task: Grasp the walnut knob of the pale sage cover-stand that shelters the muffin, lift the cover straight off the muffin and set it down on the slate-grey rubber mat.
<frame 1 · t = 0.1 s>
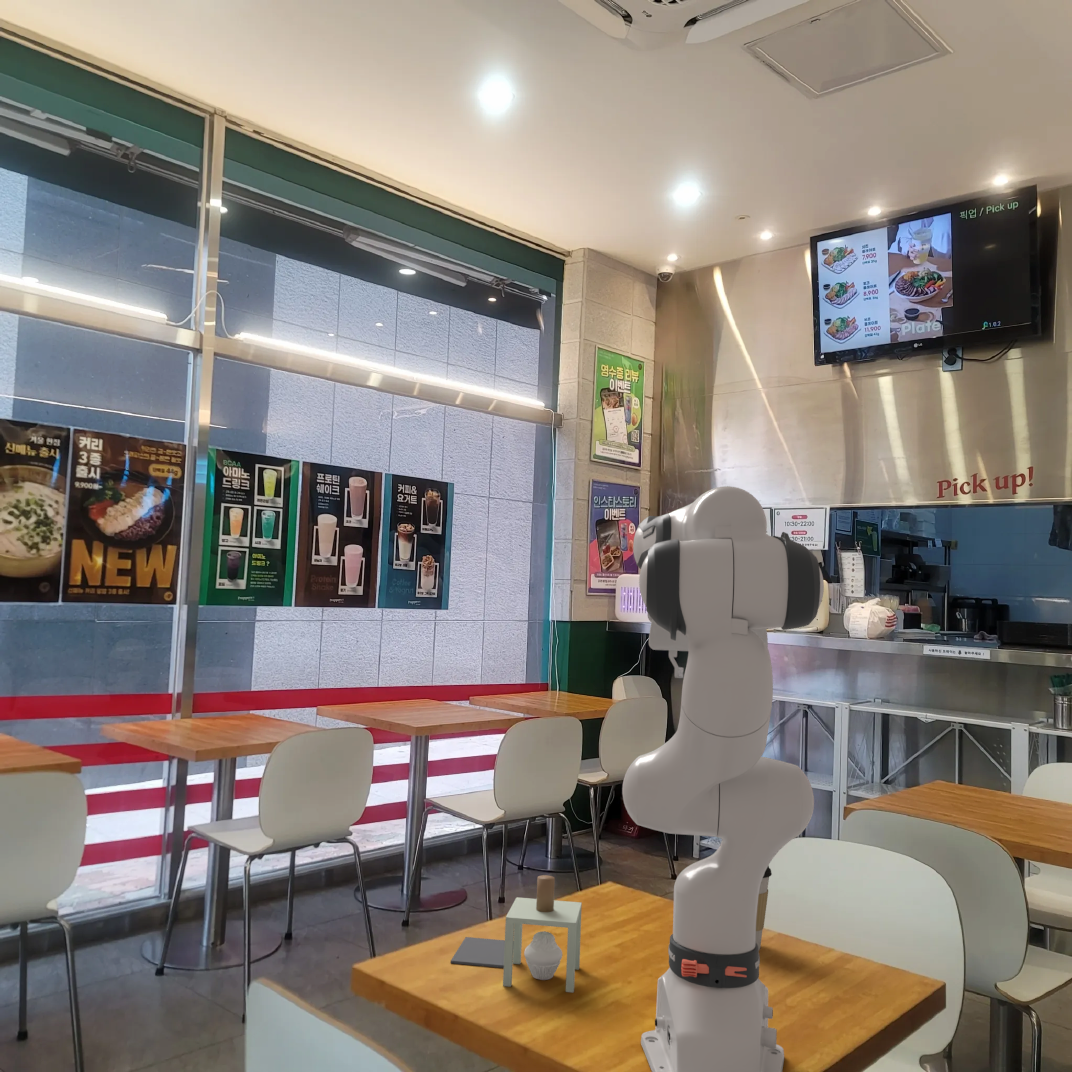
hand: (706, 679, 158), 48 cm above the table, fingers open, 8 cm apart
cover: (542, 976, 147), on the table
muffin: (542, 977, 147), on the table
mat: (484, 953, 157), on the table
coffee cup: (742, 947, 165), on the table
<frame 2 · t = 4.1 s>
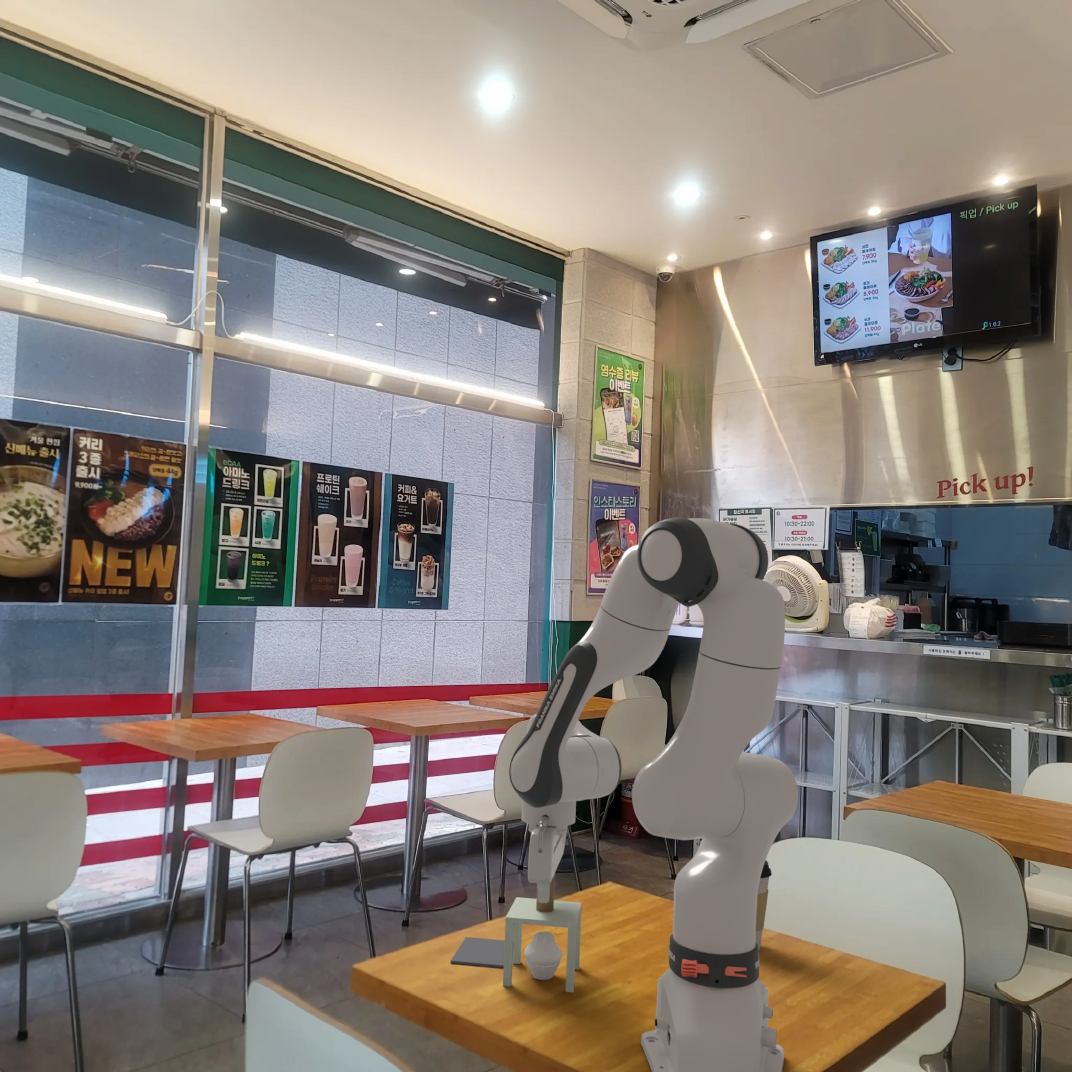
hand: (545, 898, 148), 12 cm above the table, fingers closed on cover, 3 cm apart
cover: (542, 976, 147), on the table, touching gripper
everything else where it was.
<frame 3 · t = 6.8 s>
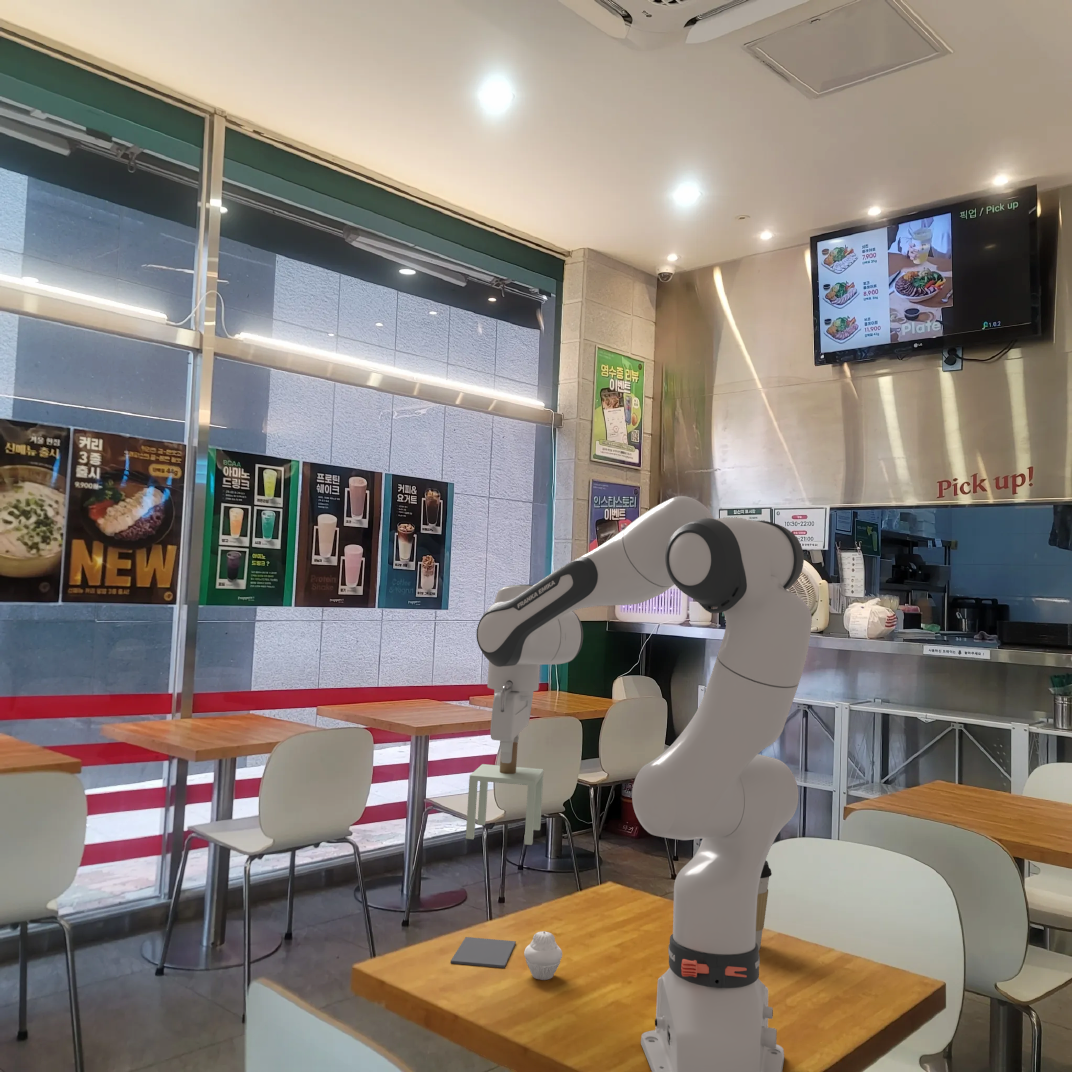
hand: (508, 760, 157), 33 cm above the table, fingers closed on cover, 3 cm apart
cover: (504, 833, 156), point 20 cm above the table, touching gripper
everything else where it was.
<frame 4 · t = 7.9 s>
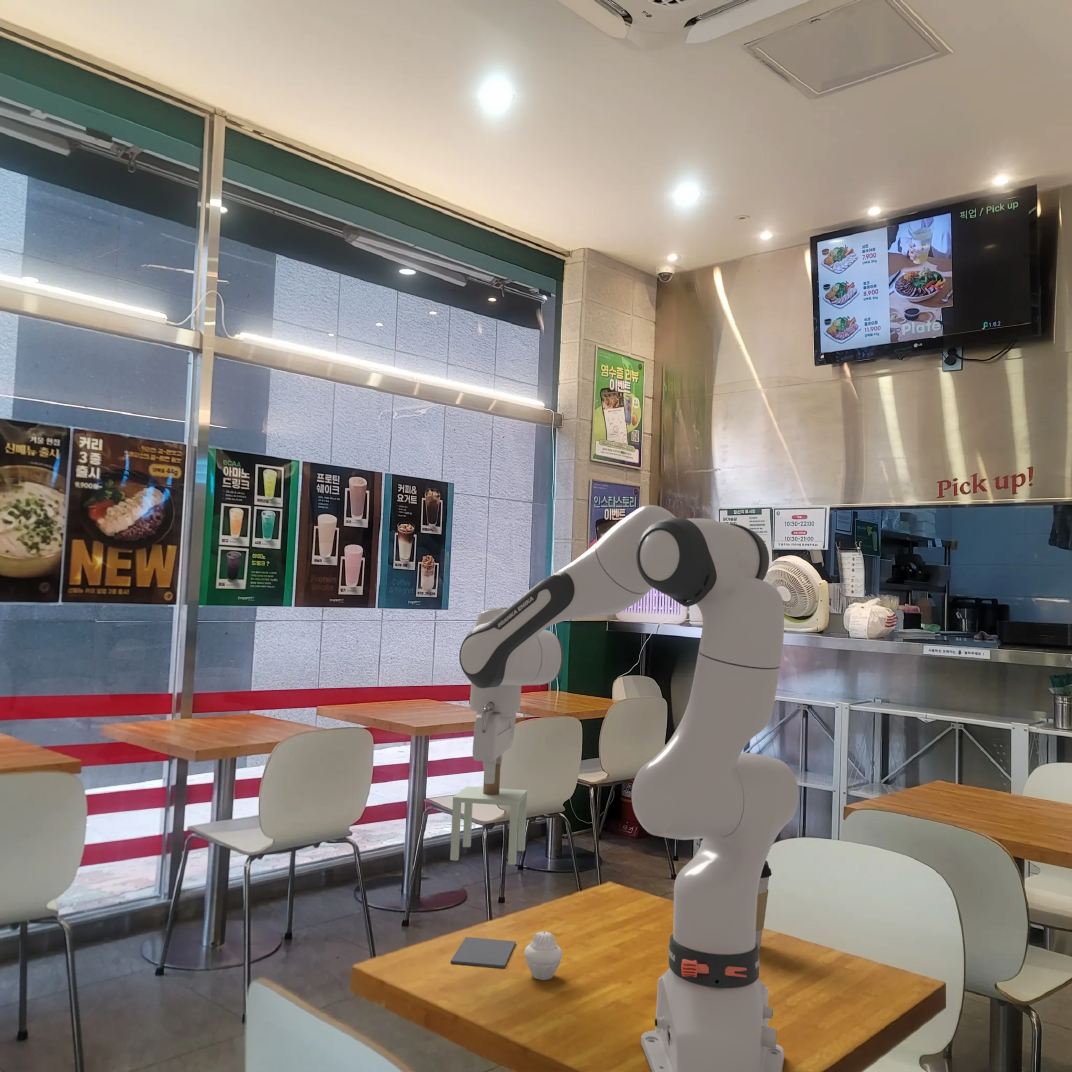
hand: (491, 781, 159), 29 cm above the table, fingers closed on cover, 3 cm apart
cover: (488, 854, 158), point 16 cm above the table, touching gripper
everything else where it was.
when the fingers open (14 cm above the table, at t = 10.7 s): cover stays where it is, resting on mat.
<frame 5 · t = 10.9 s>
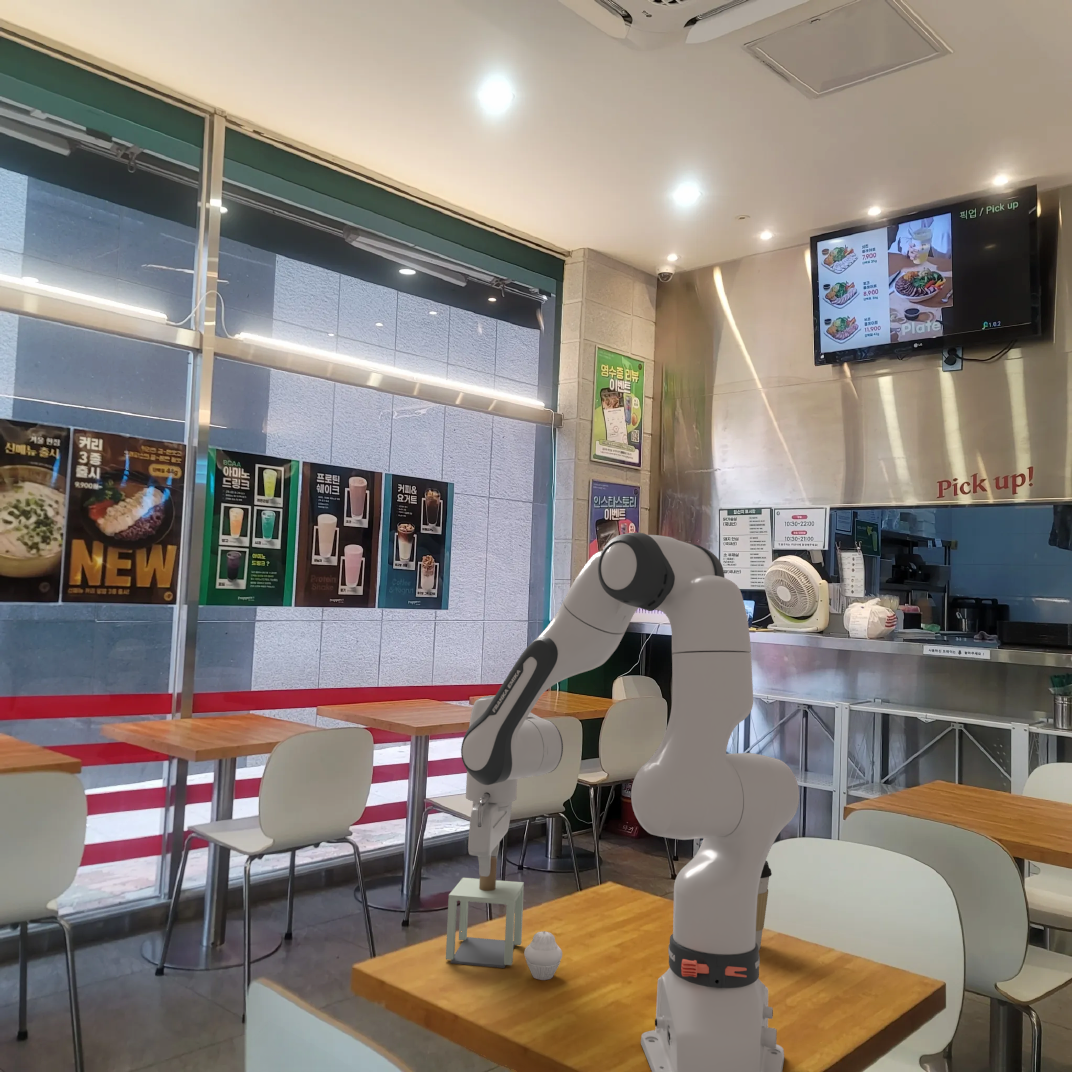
hand: (487, 871, 158), 14 cm above the table, fingers open, 4 cm apart
cover: (484, 950, 156), resting on mat
everything else where it was.
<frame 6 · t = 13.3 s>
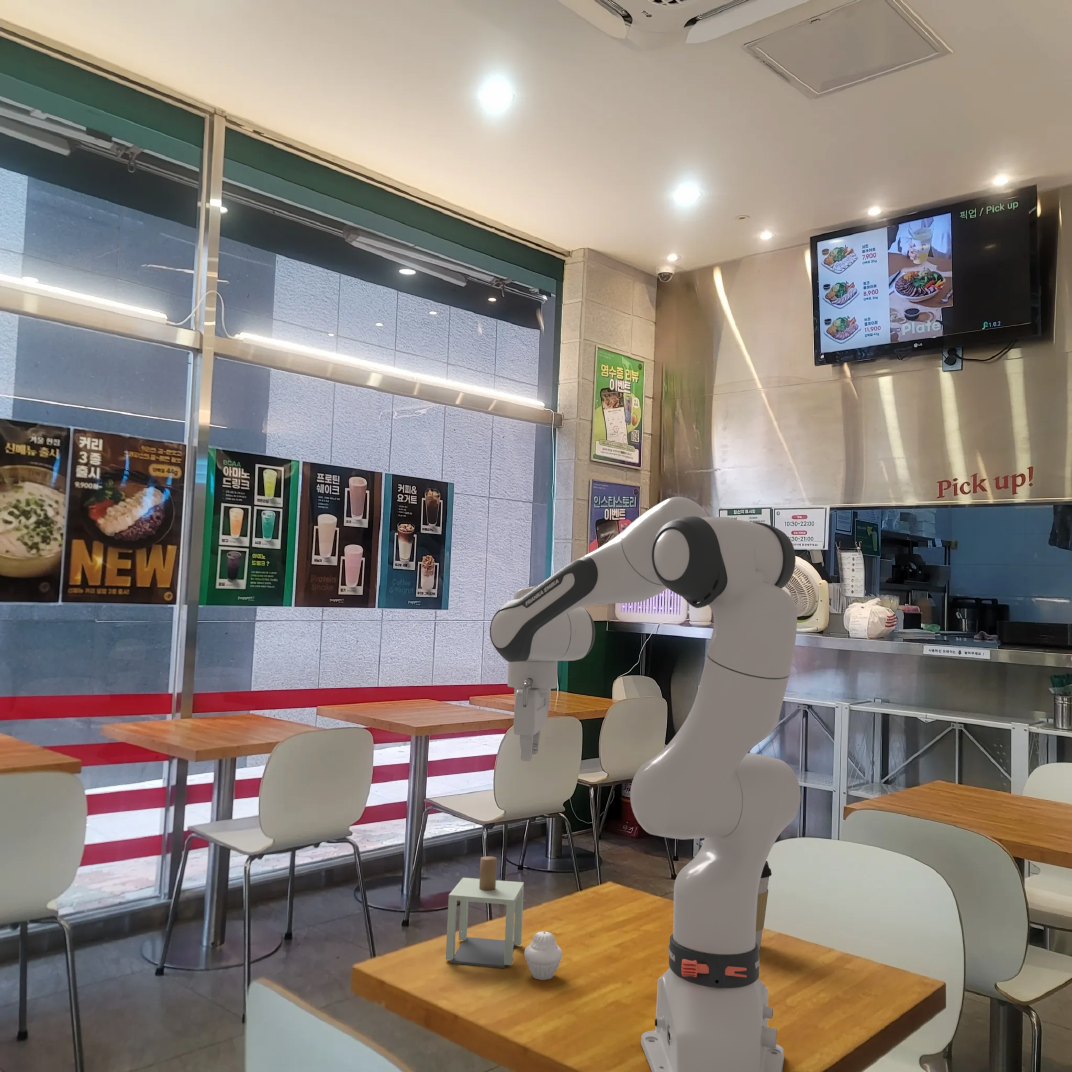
hand: (529, 757, 162), 33 cm above the table, fingers open, 8 cm apart
nothing on the table moved.
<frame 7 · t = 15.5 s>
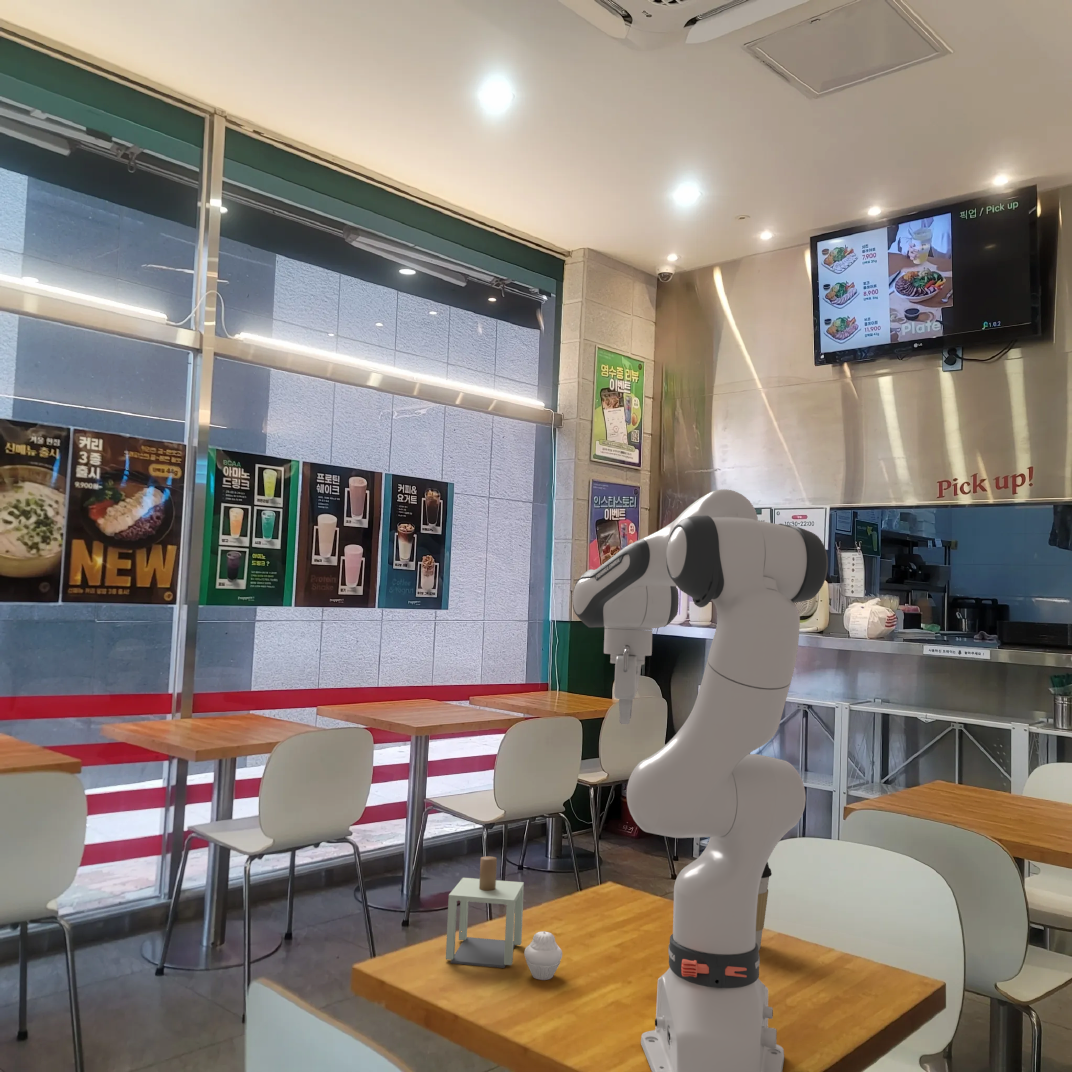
hand: (625, 721, 168), 39 cm above the table, fingers open, 8 cm apart
nothing on the table moved.
at the end: cover inside the target area on the mat (0.1 cm from its centre), point 0.4 cm above the mat's base; cover tilted 0°; muffin moved 0.2 cm from its start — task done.
